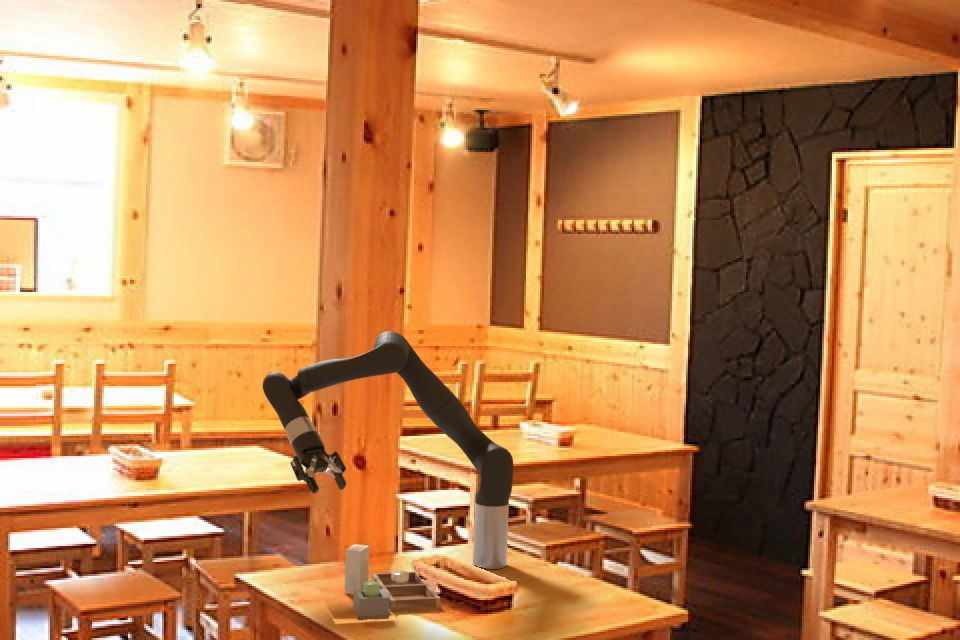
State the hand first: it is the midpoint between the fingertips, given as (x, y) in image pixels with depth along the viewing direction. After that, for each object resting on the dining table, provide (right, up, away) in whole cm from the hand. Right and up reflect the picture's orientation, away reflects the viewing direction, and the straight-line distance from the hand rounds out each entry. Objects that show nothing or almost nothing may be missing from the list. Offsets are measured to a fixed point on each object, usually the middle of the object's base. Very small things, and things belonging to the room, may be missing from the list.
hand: (330, 489), depth 306 cm
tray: (+19, -26, -9) cm, 33 cm away
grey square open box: (+12, -26, -22) cm, 36 cm away
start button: (+12, -23, -22) cm, 34 cm away
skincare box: (+7, -25, -7) cm, 27 cm away
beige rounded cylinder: (+18, -24, -4) cm, 30 cm away
